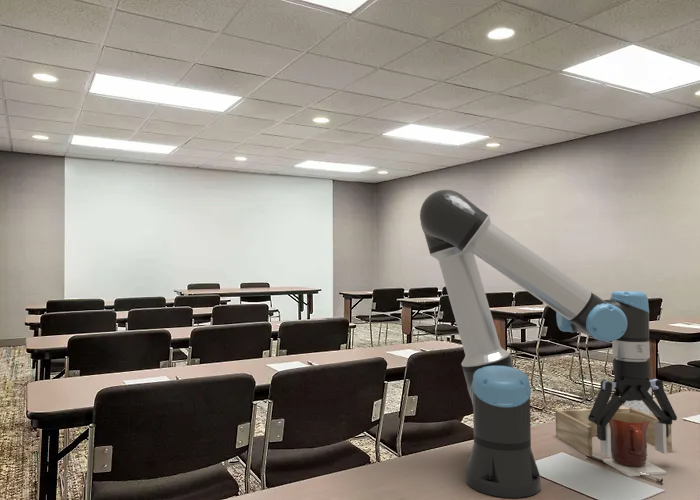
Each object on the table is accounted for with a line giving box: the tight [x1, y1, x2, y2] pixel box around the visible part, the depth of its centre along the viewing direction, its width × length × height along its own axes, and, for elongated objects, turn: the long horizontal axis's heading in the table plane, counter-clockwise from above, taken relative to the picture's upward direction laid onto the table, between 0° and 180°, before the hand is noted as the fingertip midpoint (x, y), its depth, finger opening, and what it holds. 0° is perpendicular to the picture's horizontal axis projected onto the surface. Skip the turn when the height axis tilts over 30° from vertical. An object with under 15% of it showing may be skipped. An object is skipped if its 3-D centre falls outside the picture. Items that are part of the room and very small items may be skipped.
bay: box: [555, 407, 673, 457], centre depth 134 cm, size 22×15×7 cm
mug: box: [609, 412, 650, 467], centre depth 118 cm, size 12×9×10 cm
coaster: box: [602, 457, 668, 477], centre depth 118 cm, size 9×9×1 cm
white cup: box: [623, 387, 653, 415], centre depth 159 cm, size 8×8×10 cm
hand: (633, 453), depth 118 cm, fingers open, 13 cm apart
